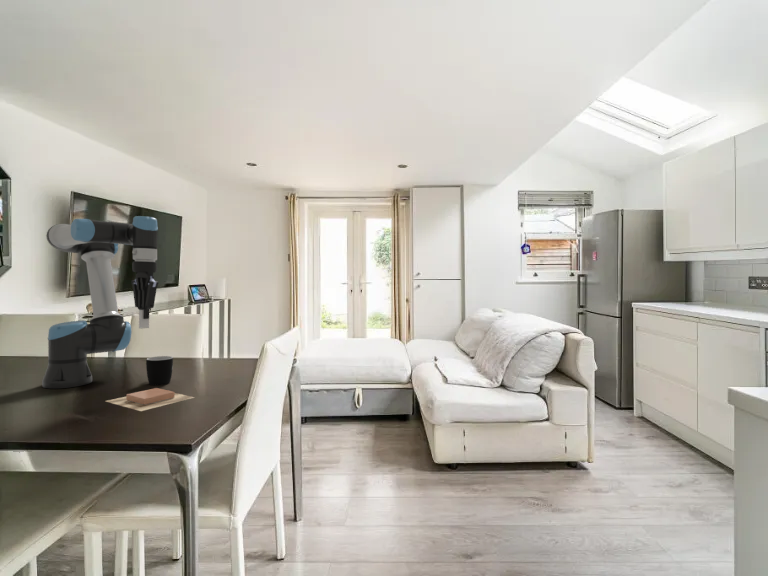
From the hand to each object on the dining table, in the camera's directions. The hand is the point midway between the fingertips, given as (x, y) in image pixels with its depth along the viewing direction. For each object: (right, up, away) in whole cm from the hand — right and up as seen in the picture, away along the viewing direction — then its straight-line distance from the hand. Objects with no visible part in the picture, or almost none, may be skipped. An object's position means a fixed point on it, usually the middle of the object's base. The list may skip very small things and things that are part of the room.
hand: (144, 328), depth 150 cm
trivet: (+8, -23, -11) cm, 27 cm away
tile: (+4, -21, -9) cm, 23 cm away
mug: (-1, -23, +12) cm, 26 cm away
